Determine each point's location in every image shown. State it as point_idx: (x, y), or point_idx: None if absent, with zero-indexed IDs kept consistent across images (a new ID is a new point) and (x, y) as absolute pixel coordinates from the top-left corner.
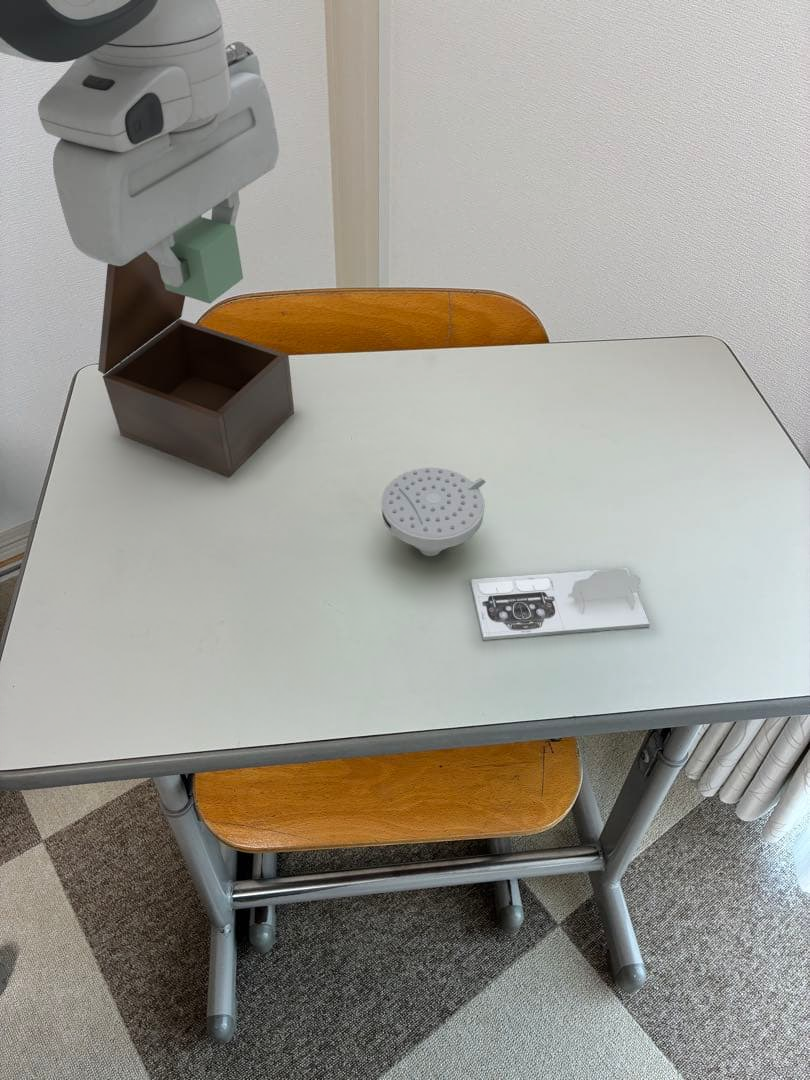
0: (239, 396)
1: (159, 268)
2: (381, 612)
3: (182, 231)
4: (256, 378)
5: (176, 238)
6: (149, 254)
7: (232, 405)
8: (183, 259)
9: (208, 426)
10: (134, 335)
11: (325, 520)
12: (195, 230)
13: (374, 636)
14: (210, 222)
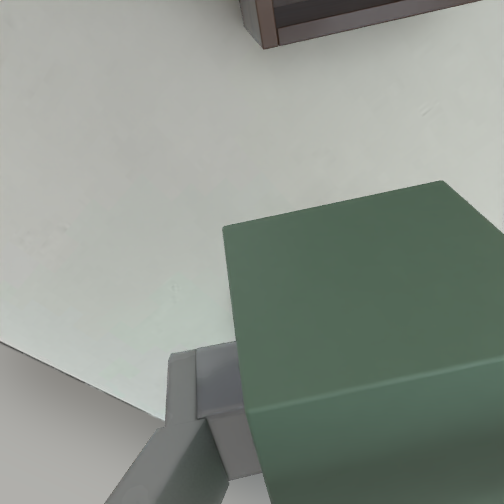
0: (342, 27)
1: (166, 401)
2: (203, 323)
3: (394, 452)
4: (412, 5)
5: (314, 484)
6: (116, 492)
7: (312, 38)
8: (259, 466)
9: (253, 13)
10: None
11: (267, 201)
12: (435, 476)
13: (176, 336)
14: None
